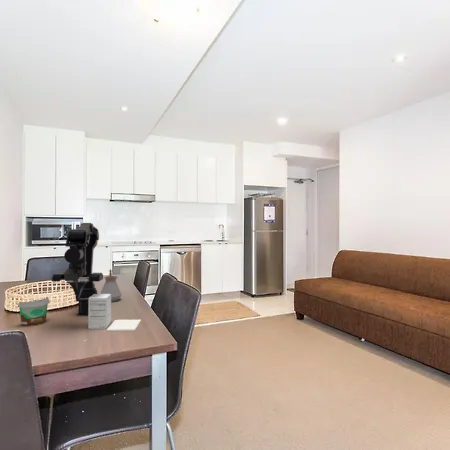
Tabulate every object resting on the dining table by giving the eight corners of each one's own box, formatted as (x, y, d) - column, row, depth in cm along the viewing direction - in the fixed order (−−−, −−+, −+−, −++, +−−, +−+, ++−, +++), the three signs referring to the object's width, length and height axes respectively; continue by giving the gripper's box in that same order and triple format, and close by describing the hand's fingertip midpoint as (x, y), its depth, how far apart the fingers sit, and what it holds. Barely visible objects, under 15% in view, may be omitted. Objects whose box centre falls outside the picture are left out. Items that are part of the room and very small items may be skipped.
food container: (25, 329, 128) (25, 304, 128) (17, 326, 132) (17, 301, 131) (55, 321, 139) (55, 298, 139) (47, 318, 142) (47, 296, 142)
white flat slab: (106, 331, 127) (106, 329, 127) (115, 321, 140) (115, 319, 140) (134, 330, 128) (134, 329, 128) (141, 320, 141) (141, 319, 141)
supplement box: (93, 323, 136) (93, 293, 136) (111, 323, 137) (111, 293, 137) (87, 329, 129) (87, 297, 129) (106, 328, 130) (106, 297, 130)
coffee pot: (121, 302, 173) (122, 274, 173) (98, 303, 169) (99, 275, 169) (120, 293, 193) (120, 268, 193) (100, 295, 189) (100, 269, 189)
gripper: (45, 262, 124) (44, 303, 124) (94, 262, 125) (94, 302, 125) (57, 259, 135) (57, 296, 135) (103, 259, 136) (103, 296, 136)
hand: (77, 297), depth 132 cm, fingers closed
